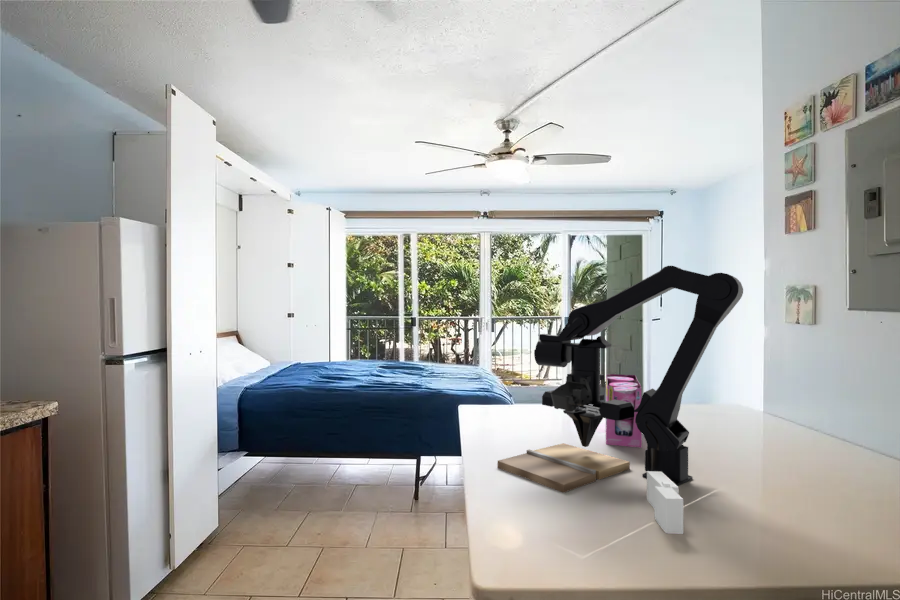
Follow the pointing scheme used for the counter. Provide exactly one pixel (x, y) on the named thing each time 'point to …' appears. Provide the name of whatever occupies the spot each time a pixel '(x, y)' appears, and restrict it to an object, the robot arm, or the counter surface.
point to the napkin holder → (665, 502)
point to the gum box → (627, 429)
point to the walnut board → (548, 470)
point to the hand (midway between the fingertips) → (585, 446)
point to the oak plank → (587, 459)
